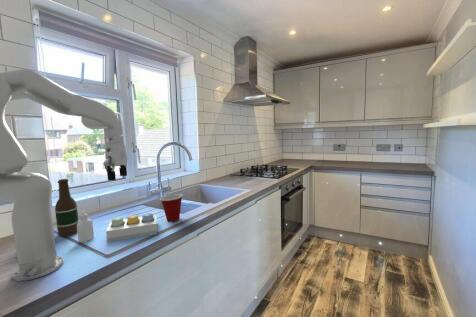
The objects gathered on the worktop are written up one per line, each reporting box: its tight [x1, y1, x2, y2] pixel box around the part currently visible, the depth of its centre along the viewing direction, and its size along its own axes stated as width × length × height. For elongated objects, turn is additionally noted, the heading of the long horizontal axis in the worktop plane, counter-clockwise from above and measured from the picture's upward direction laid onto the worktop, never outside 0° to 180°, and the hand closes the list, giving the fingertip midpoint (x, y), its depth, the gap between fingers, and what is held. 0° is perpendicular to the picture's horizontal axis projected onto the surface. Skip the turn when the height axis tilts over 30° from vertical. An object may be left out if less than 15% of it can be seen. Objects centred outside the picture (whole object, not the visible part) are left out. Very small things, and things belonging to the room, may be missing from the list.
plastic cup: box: [159, 193, 183, 223], centre depth 116 cm, size 11×11×12 cm
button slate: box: [141, 212, 154, 223], centre depth 105 cm, size 4×4×4 cm
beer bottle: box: [54, 178, 80, 238], centre depth 104 cm, size 8×8×24 cm
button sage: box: [111, 216, 124, 227], centre depth 101 cm, size 4×4×4 cm
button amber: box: [126, 214, 139, 225], centre depth 103 cm, size 4×4×4 cm
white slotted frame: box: [105, 214, 158, 243], centre depth 104 cm, size 12×19×4 cm, turn 110°
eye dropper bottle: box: [76, 210, 95, 243], centre depth 97 cm, size 4×6×12 cm
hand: (118, 178), depth 108 cm, fingers open, 9 cm apart
